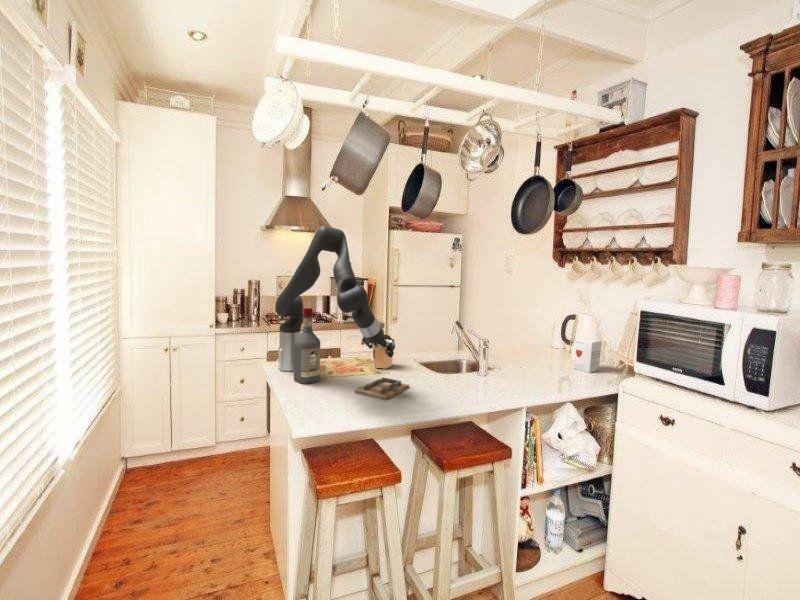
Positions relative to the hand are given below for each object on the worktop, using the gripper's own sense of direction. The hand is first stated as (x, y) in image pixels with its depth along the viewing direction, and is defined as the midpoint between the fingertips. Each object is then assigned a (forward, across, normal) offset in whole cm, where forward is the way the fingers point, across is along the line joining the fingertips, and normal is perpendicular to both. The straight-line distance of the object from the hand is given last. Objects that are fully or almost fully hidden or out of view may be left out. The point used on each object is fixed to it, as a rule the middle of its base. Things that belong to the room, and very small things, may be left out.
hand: (386, 354), depth 175 cm
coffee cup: (+28, +18, -8) cm, 35 cm away
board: (+9, 0, +11) cm, 14 cm away
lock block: (+2, 0, +4) cm, 5 cm away
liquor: (+3, +32, +17) cm, 36 cm away
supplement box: (+69, -64, -49) cm, 107 cm away
